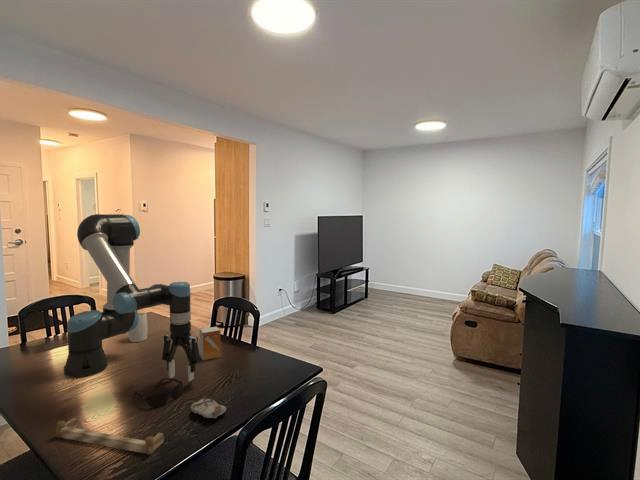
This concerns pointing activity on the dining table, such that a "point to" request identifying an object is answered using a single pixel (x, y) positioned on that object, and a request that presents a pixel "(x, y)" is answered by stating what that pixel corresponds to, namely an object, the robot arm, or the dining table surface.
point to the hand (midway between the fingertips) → (181, 378)
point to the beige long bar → (108, 438)
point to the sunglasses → (163, 394)
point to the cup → (139, 329)
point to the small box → (209, 343)
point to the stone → (208, 408)
